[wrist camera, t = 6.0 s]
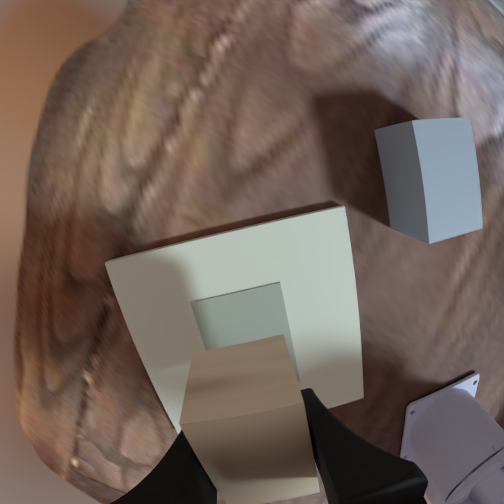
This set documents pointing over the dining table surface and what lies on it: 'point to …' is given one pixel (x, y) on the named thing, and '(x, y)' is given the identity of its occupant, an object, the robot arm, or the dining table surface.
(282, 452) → the birch brick
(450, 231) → the slate brick
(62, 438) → the dining table surface
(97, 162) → the dining table surface
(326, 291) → the plate
